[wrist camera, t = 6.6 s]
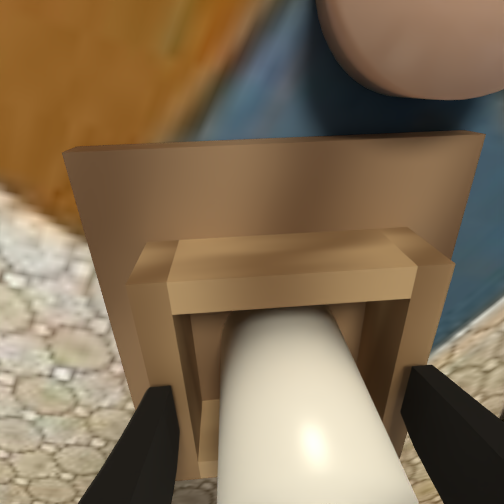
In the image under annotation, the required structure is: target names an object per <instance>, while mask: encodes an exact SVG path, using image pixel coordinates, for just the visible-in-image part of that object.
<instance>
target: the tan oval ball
mask: <svg viewBox="0 0 504 504" xmlns="http://www.w3.org/2000/svg"><path fill="white" fill-rule="evenodd" d="M315 1H316V7H317V13H318V19H319V22H320V26H321V29H322V32H323V35H324V38H325V40H326V42H327V45H328V47H329V49H330V51H331V52H332V54H333V56H334V57H335V59H336V61H337V62H338V63H339V65H340V66H341V67H342V68H343V70H344V71H345V72H346V73H347V74H348V75H349V76H350V77H352V78H353V79H354V80H355V81H356V82H358V83H359V84H361V85H362V86H364V87H365V88H367V89H369V90H372V91H374V92H376V93H379V94H383V95H386V96H392V97H400V98H417V99H435V100H464V99H470V98H475V97H481V96H484V95H488V94H491V93H494V92H497V91H500V90H502V89H504V0H315Z"/></svg>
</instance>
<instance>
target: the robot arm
mask: <svg viewBox="0 0 504 504" xmlns="http://www.w3.org/2000/svg"><path fill="white" fill-rule="evenodd" d="M400 413H401V416H402V418H403V421H404V423H405V426H406V429H407V431H408V434H409V436H410V438H411V441H412V443H413V446H414V448H415V450H416V452H417V454H418V456H419V458H420V459H421V461H422V463H423V465H424V467H425V469H426V471H427V473H428V475H429V477H430V478H431V480H432V482H433V484H434V486H435V488H436V490H437V491H438V493H439V495H440V497H441V499H442V501H443V503H444V504H504V422H503V421H502V420H500V419H499V418H498V417H496V416H495V415H494V414H493V413H491V412H490V411H489V410H488V409H486V408H485V407H484V406H483V405H481V404H480V403H479V402H478V401H476V400H475V399H474V398H473V397H471V396H470V395H469V394H468V393H466V392H465V391H464V390H463V389H461V388H460V387H459V386H458V385H457V384H455V383H454V382H453V381H452V380H450V379H449V378H448V377H447V376H445V375H444V374H443V373H442V372H440V371H439V370H438V369H437V368H435V367H434V366H433V365H421V366H412V368H411V372H410V376H409V380H408V383H407V387H406V391H405V395H404V399H403V403H402V407H401V410H400ZM179 438H180V429H179V424H178V419H177V414H176V409H175V404H174V399H173V394H172V389H171V386H158V387H149V388H148V389H147V390H146V392H145V394H144V396H143V398H142V400H141V402H140V404H139V405H138V407H137V409H136V411H135V413H134V415H133V416H132V418H131V420H130V422H129V423H128V425H127V427H126V429H125V430H124V432H123V434H122V436H121V437H120V439H119V441H118V442H117V444H116V445H115V447H114V449H113V450H112V452H111V454H110V455H109V457H108V458H107V460H106V462H105V463H104V465H103V467H102V468H101V470H100V471H99V473H98V474H97V476H96V477H95V479H94V480H93V482H92V483H91V485H90V486H89V488H88V489H87V491H86V492H85V494H84V495H83V497H82V498H81V500H80V501H79V503H78V504H171V502H172V496H173V490H174V484H175V479H176V473H177V463H178V452H179Z"/></svg>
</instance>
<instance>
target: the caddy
mask: <svg viewBox="0 0 504 504" xmlns="http://www.w3.org/2000/svg"><path fill="white" fill-rule="evenodd" d="M485 135H486V134H482V133H476V132H471V131H465V130H455V131H432V132H408V133H385V134H361V135H338V136H314V137H291V138H267V139H244V140H220V141H197V142H173V143H150V144H127V145H103V146H80V147H75V148H72V149H70V150H67V151H65V152H62V155H63V158H64V162H65V165H66V169H67V172H68V176H69V179H70V183H71V186H72V190H73V193H74V197H75V200H76V204H77V207H78V211H79V214H80V218H81V221H82V225H83V228H84V232H85V235H86V239H87V242H88V246H89V249H90V253H91V257H92V260H93V264H94V267H95V271H96V274H97V278H98V281H99V285H100V288H101V292H102V295H103V299H104V302H105V306H106V309H107V313H108V316H109V320H110V323H111V327H112V330H113V334H114V337H115V341H116V344H117V348H118V351H119V355H120V358H121V362H122V365H123V369H124V372H125V376H126V379H127V383H128V386H129V390H130V393H131V397H132V400H133V404H134V407H135V411H136V409H137V407H138V405H139V404H140V402H141V400H142V398H143V396H144V394H145V392H146V390H147V389H148V388H149V387H158V386H171V389H172V394H173V399H174V404H175V409H176V414H177V419H178V424H179V429H180V438H179V452H178V463H177V473H176V479H175V481H181V480H191V479H202V478H212V477H218V444H219V408H220V371H221V337H222V330H223V327H224V324H225V322H226V320H227V318H228V317H229V315H230V314H231V313H232V311H236V310H250V309H265V308H279V307H294V306H308V305H323V304H326V305H327V306H328V307H329V308H330V310H331V311H332V313H333V315H334V317H335V319H336V321H337V324H338V326H339V328H340V330H341V332H342V335H343V337H344V339H345V341H346V343H347V346H348V348H349V350H350V352H351V355H352V357H353V359H354V361H355V363H356V366H357V368H358V370H359V372H360V374H361V377H362V379H363V381H364V383H365V385H366V388H367V390H368V392H369V394H370V396H371V399H372V401H373V403H374V405H375V407H376V410H377V412H378V414H379V416H380V418H381V421H382V423H383V425H384V427H385V429H386V432H387V434H388V436H389V438H390V440H391V443H392V445H393V447H394V449H395V451H396V454H397V456H398V458H399V459H400V455H401V452H402V448H403V445H404V442H405V438H406V435H407V429H406V426H405V423H404V421H403V418H402V416H401V413H400V410H401V407H402V403H403V399H404V395H405V391H406V387H407V383H408V380H409V376H410V372H411V368H412V366H421V365H427V361H428V358H429V354H430V351H431V347H432V344H433V340H434V337H435V334H436V330H437V327H438V323H439V320H440V316H441V313H442V309H443V306H444V302H445V299H446V295H447V292H448V288H449V285H450V281H451V278H452V274H453V271H454V267H455V263H454V262H452V261H451V257H452V254H453V250H454V247H455V243H456V239H457V236H458V232H459V229H460V225H461V221H462V218H463V214H464V211H465V207H466V203H467V200H468V196H469V193H470V189H471V185H472V182H473V178H474V175H475V171H476V167H477V164H478V160H479V157H480V153H481V149H482V146H483V142H484V139H485Z"/></svg>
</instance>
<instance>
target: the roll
mask: <svg viewBox="0 0 504 504" xmlns="http://www.w3.org/2000/svg"><path fill="white" fill-rule="evenodd" d="M217 504H419V503H418V500H417V498H416V495H415V493H414V491H413V489H412V487H411V484H410V482H409V480H408V478H407V476H406V473H405V471H404V469H403V467H402V465H401V462H400V460H399V458H398V456H397V454H396V451H395V449H394V447H393V445H392V443H391V440H390V438H389V436H388V434H387V432H386V429H385V427H384V425H383V423H382V421H381V418H380V416H379V414H378V412H377V410H376V407H375V405H374V403H373V401H372V399H371V396H370V394H369V392H368V390H367V388H366V385H365V383H364V381H363V379H362V377H361V374H360V372H359V370H358V368H357V366H356V363H355V361H354V359H353V357H352V355H351V352H350V350H349V348H348V346H347V343H346V341H345V339H344V337H343V335H342V332H341V330H340V328H339V326H338V324H337V321H336V319H335V317H334V315H333V313H332V311H331V310H330V308H329V307H328V306H327V305H326V304H323V305H308V306H294V307H279V308H265V309H250V310H236V311H232V313H231V314H230V315H229V317H228V318H227V320H226V322H225V324H224V327H223V330H222V337H221V371H220V408H219V444H218V480H217Z"/></svg>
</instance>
